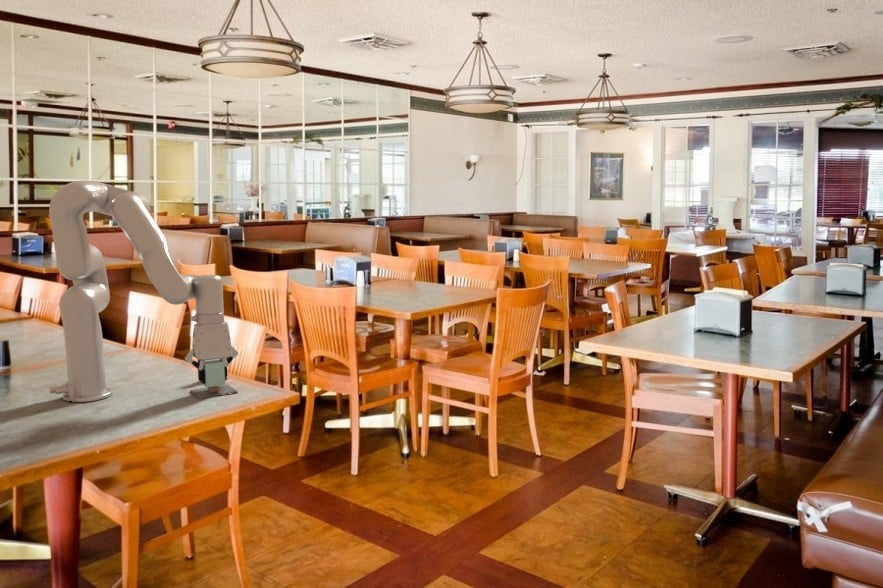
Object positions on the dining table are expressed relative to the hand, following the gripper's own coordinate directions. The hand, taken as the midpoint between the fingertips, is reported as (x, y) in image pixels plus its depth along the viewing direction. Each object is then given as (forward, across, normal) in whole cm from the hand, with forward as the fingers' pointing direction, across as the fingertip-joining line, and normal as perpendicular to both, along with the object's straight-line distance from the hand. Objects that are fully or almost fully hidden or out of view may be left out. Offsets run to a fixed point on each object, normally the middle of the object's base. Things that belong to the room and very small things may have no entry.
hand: (213, 380), depth 217 cm
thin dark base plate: (+3, 0, 0) cm, 3 cm away
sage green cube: (+1, 0, 0) cm, 1 cm away
